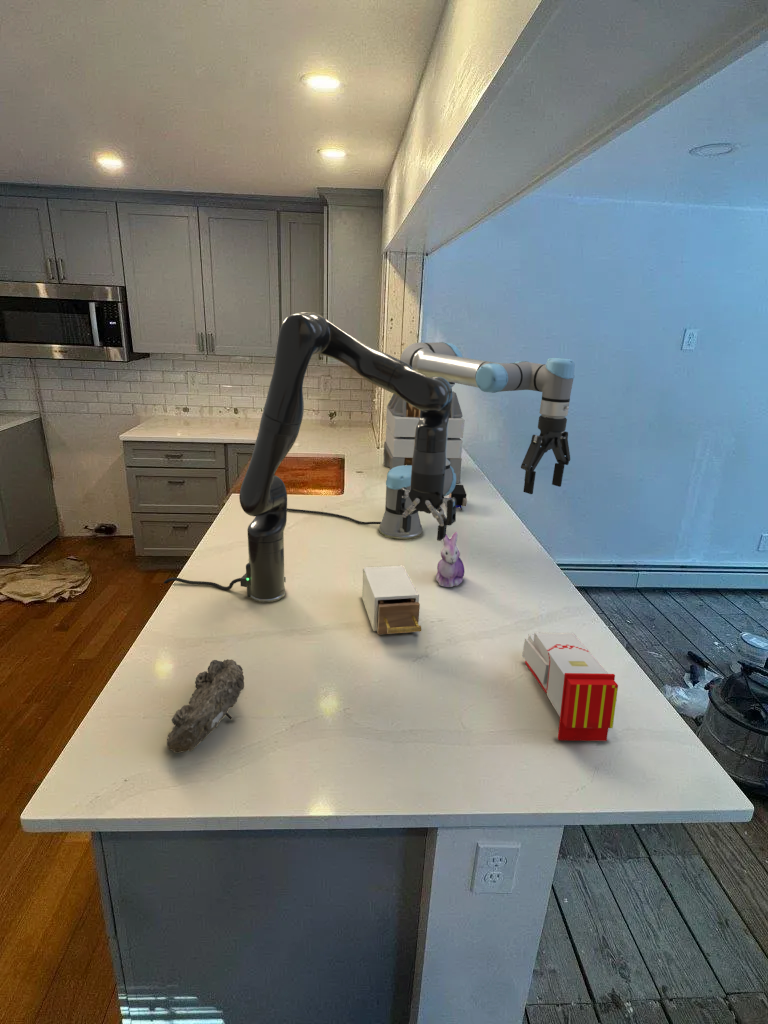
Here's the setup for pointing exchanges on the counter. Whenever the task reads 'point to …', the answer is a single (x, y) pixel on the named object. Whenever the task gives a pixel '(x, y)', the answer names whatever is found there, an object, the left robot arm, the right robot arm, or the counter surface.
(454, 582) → the figurine
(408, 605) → the drawer
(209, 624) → the counter surface
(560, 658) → the toy
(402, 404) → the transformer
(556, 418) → the right robot arm
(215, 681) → the fossil
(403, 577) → the cabinet
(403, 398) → the left robot arm
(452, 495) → the figurine character
